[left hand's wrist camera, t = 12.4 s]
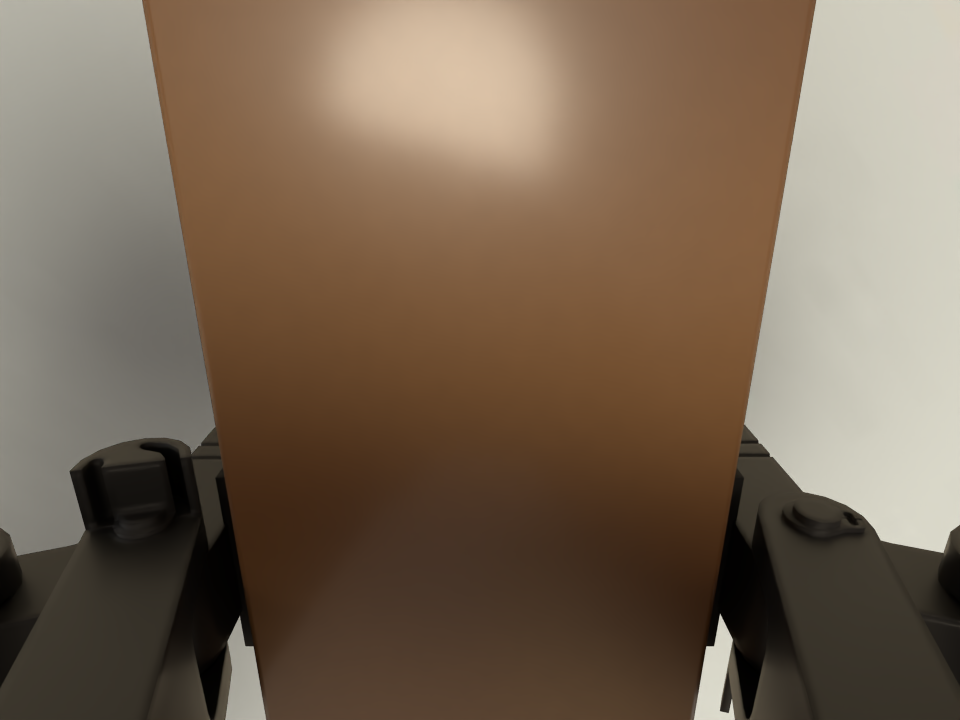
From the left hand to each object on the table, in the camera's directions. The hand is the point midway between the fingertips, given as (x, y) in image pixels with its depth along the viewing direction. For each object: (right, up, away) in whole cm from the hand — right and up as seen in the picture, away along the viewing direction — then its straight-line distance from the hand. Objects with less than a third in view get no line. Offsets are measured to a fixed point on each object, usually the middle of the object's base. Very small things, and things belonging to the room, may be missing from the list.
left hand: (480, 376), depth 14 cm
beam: (0, +19, -6) cm, 20 cm away
